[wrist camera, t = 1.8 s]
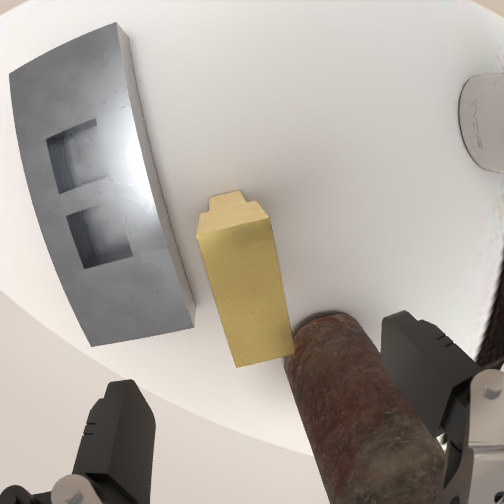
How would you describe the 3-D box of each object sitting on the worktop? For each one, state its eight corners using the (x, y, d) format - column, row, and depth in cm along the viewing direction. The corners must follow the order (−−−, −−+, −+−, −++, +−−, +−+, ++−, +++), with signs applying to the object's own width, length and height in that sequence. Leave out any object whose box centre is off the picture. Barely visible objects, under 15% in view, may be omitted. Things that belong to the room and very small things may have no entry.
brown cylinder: (339, 382, 28) (426, 560, 9) (268, 376, 26) (328, 596, 7) (374, 316, 25) (515, 498, 7) (299, 302, 24) (427, 554, 5)
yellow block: (246, 188, 20) (269, 217, 13) (266, 282, 23) (294, 353, 15) (202, 198, 20) (196, 235, 12) (226, 292, 23) (236, 367, 15)
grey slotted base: (128, 36, 16) (116, 22, 13) (195, 305, 23) (194, 327, 20) (30, 79, 15) (8, 74, 13) (102, 325, 22) (91, 346, 20)
